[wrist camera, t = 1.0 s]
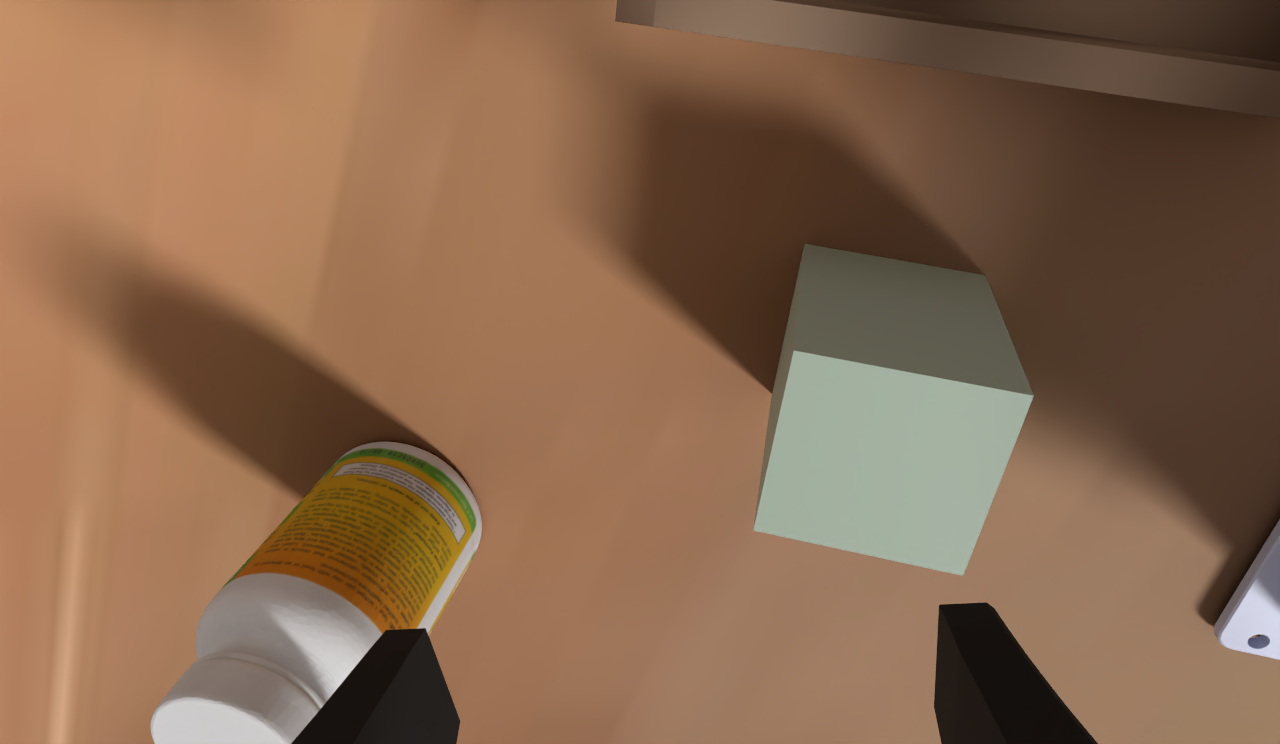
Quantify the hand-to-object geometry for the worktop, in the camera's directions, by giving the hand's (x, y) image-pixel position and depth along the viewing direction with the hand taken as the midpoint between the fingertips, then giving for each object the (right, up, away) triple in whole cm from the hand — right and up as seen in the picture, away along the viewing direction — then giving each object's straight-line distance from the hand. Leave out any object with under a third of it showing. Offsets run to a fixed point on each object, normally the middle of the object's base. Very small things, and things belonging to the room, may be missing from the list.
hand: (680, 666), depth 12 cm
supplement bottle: (-8, 0, +16) cm, 18 cm away
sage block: (+5, +5, +10) cm, 13 cm away
